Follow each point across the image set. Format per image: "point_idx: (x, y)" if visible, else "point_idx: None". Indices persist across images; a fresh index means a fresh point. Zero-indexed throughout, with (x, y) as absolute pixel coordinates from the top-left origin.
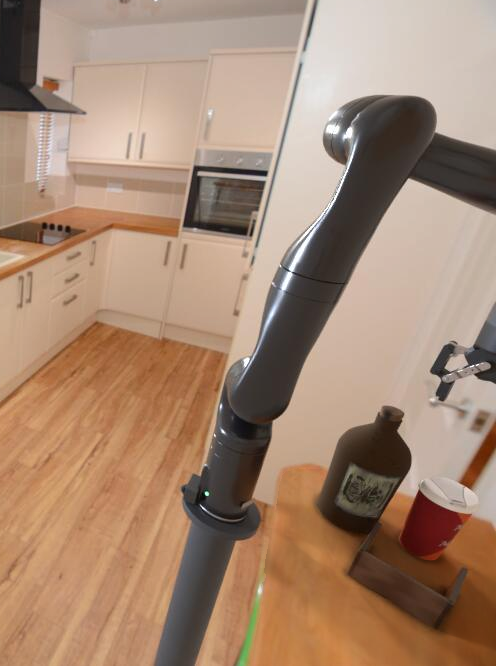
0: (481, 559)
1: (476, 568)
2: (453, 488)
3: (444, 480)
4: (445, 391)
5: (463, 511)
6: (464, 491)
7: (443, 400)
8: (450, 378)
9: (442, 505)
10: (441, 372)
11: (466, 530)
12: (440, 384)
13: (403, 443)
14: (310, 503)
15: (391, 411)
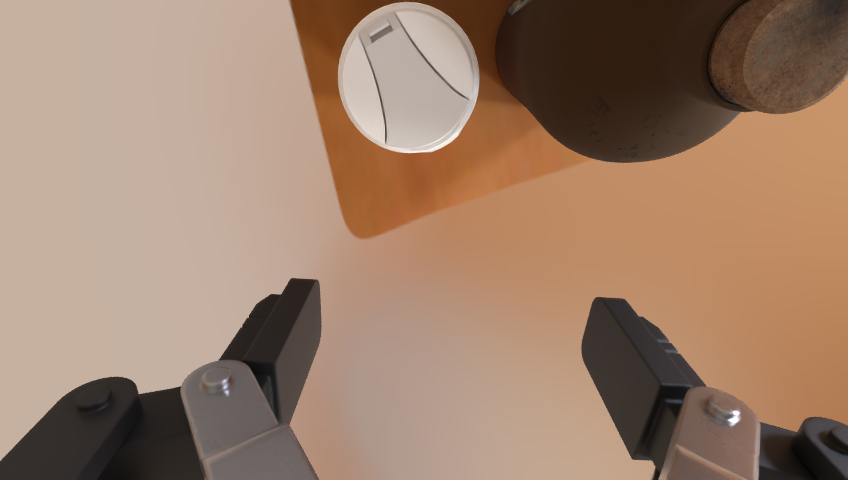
0: (332, 141)
1: (330, 104)
2: (404, 102)
3: (430, 127)
4: (639, 339)
5: (360, 26)
6: (380, 114)
7: (601, 299)
8: (714, 422)
9: (407, 3)
10: (791, 462)
11: (370, 208)
12: (693, 376)
13: (604, 53)
14: None
15: (815, 21)
